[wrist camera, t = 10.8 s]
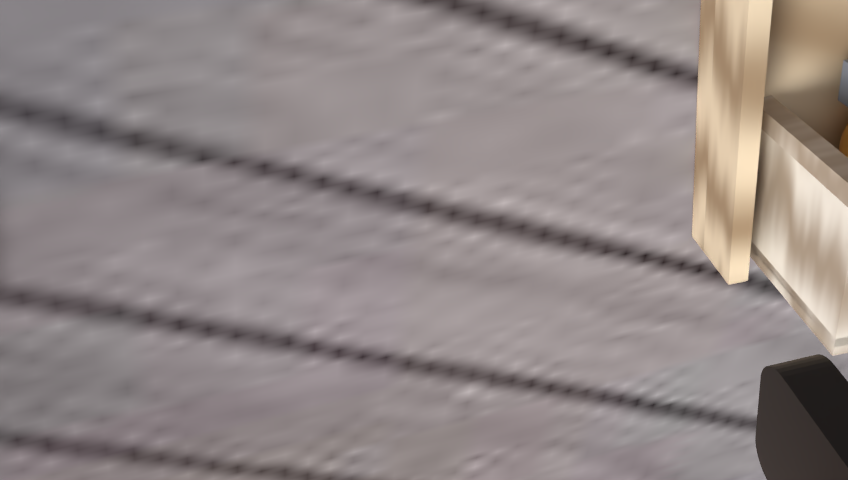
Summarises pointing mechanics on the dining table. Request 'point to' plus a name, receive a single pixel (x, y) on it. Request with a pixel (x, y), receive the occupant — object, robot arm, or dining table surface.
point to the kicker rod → (844, 84)
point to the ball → (844, 142)
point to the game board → (776, 152)
